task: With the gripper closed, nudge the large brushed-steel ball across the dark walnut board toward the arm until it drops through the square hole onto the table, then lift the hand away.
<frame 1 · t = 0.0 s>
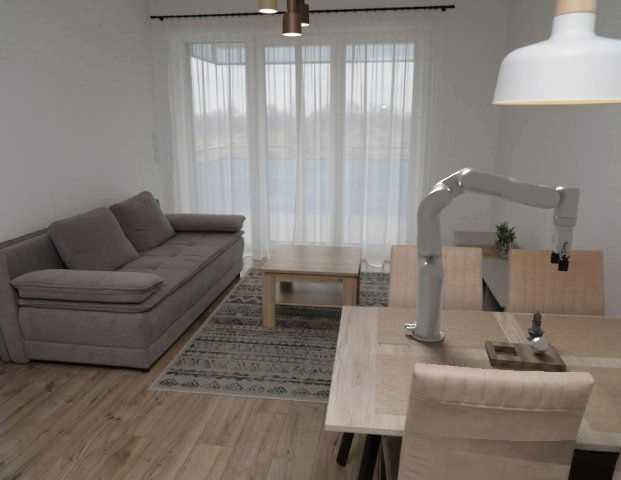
hand: (558, 267, 178), 31 cm above the table, fingers open, 9 cm apart
ball: (539, 345, 173), point 5 cm above the table, touching board
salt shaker: (534, 339, 191), on the table
board: (522, 358, 175), on the table
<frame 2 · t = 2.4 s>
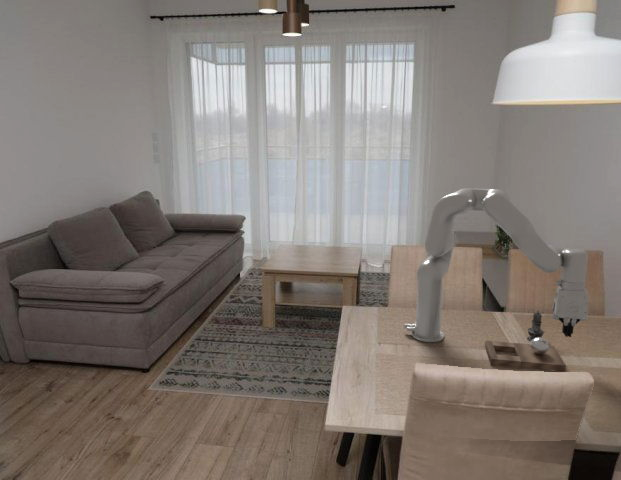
hand: (567, 335, 170), 10 cm above the table, fingers closed
nothing on the table moved.
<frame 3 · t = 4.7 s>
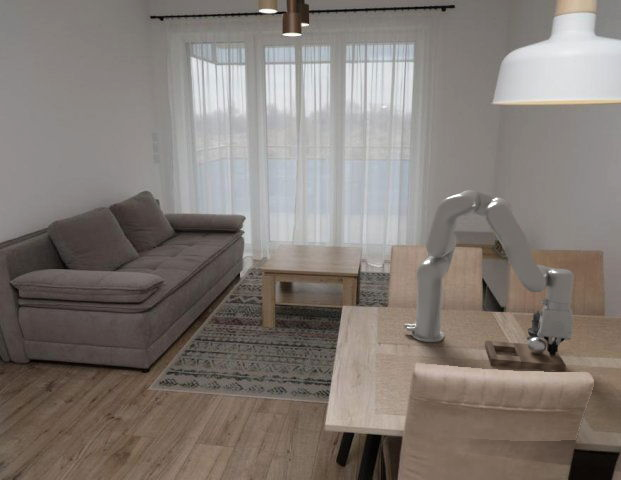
hand: (551, 353, 173), 3 cm above the table, fingers closed
ball: (536, 345, 173), point 6 cm above the table, touching gripper
everything else where it was.
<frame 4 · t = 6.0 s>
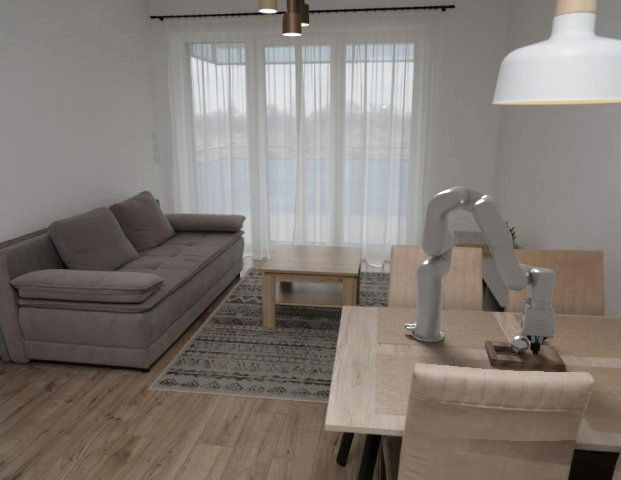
hand: (534, 351, 174), 3 cm above the table, fingers closed
ball: (519, 344, 174), point 5 cm above the table, tilted 21°, touching board
everything else where it was.
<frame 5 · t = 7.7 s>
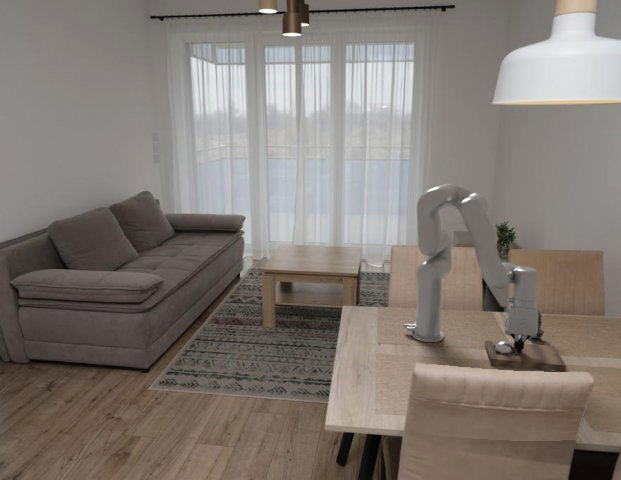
hand: (518, 350, 175), 3 cm above the table, fingers closed
ball: (503, 349, 176), point 3 cm above the table, tilted 118°
everything else where it was.
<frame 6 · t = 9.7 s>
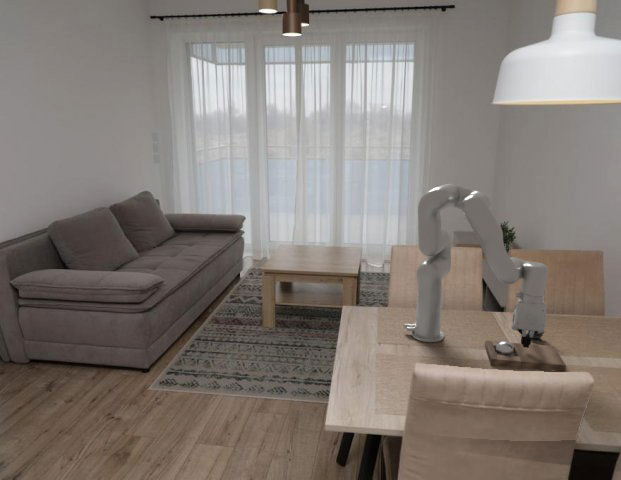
hand: (525, 345, 174), 5 cm above the table, fingers closed
ball: (504, 349, 176), point 3 cm above the table, tilted 113°
everything else where it was.
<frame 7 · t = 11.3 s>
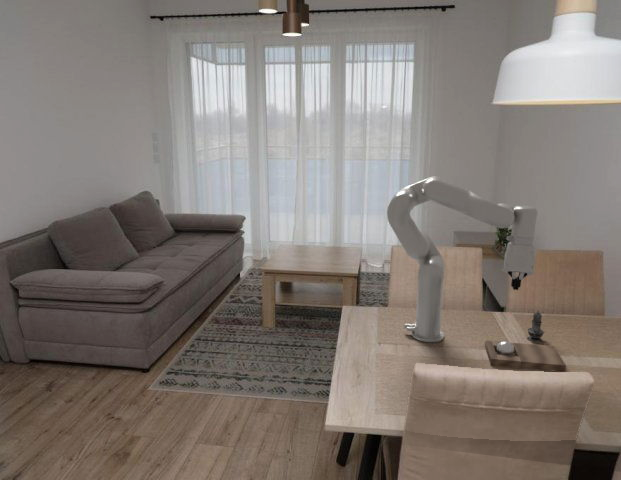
hand: (515, 288, 180), 23 cm above the table, fingers closed
nothing on the table moved.
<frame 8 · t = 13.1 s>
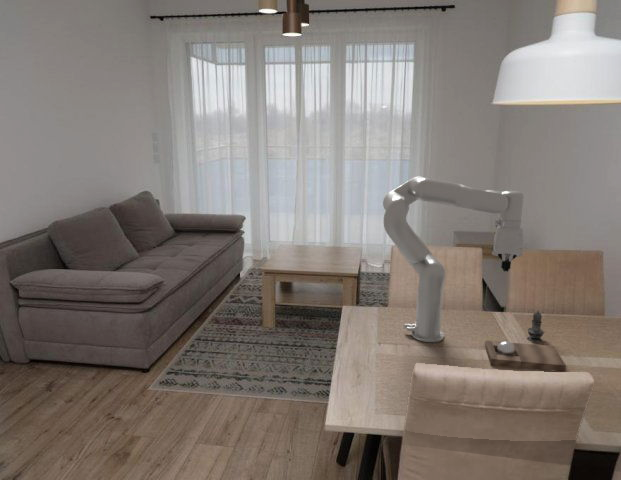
hand: (505, 270, 188), 27 cm above the table, fingers closed
nothing on the table moved.
at the end: ball 0.1 cm from the target spot on the board, point 3.0 cm above the board's base; ball touching table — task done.
